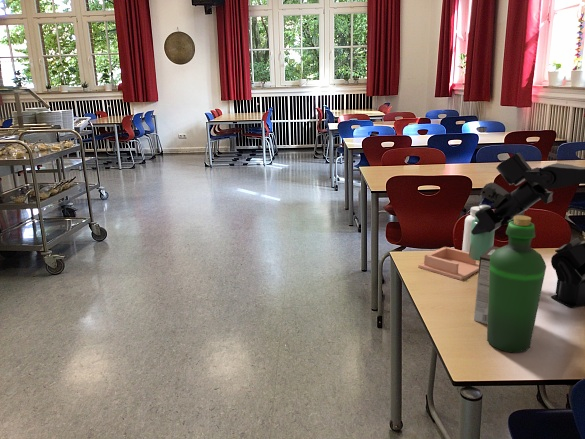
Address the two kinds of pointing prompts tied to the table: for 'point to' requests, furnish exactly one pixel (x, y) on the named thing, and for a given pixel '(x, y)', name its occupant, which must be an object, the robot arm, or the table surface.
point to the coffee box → (483, 287)
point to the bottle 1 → (480, 240)
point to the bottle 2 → (514, 288)
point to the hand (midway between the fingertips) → (477, 230)
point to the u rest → (450, 263)
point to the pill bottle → (468, 229)
